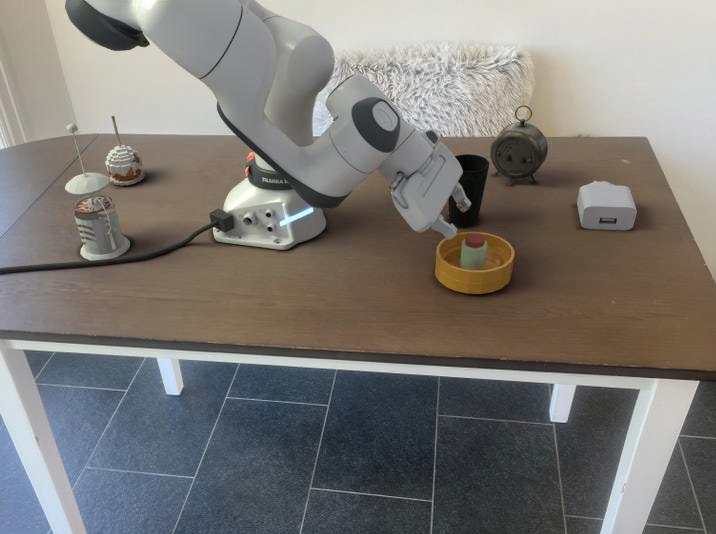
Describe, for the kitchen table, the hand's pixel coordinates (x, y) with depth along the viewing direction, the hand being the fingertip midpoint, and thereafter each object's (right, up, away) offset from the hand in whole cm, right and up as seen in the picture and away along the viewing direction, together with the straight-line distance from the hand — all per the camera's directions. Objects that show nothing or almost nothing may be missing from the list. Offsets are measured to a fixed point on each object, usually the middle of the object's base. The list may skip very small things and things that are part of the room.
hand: (461, 221), depth 120 cm
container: (+3, -8, +5) cm, 10 cm away
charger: (+32, +6, +20) cm, 38 cm away
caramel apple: (-67, +18, +44) cm, 82 cm away
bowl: (+3, -8, +5) cm, 10 cm away
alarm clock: (+18, +15, +31) cm, 39 cm away
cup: (+5, +4, +20) cm, 21 cm away
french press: (-65, -2, +20) cm, 68 cm away
